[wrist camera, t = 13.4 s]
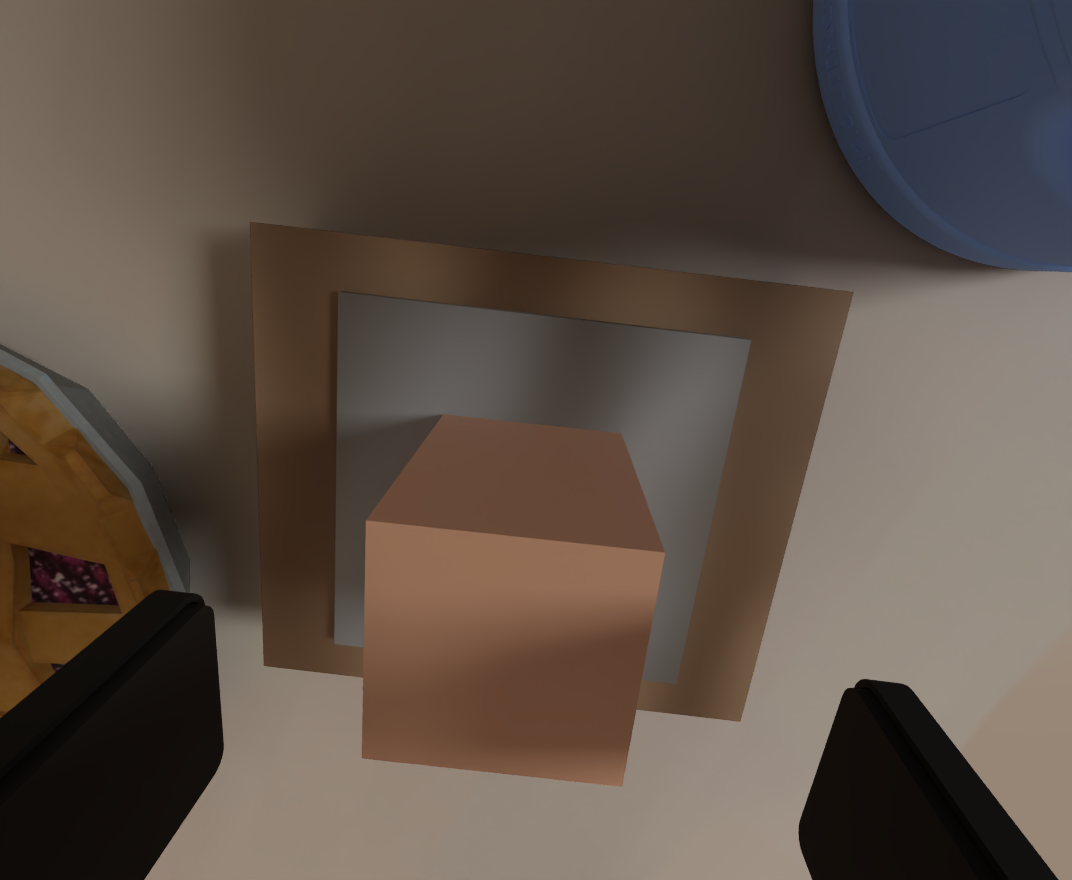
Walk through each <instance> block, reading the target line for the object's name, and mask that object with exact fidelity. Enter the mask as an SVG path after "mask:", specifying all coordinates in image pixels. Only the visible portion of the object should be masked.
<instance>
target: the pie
mask: <svg viewBox="0 0 1072 880" xmlns="http://www.w3.org/2000/svg"><path fill="white" fill-rule="evenodd" d="M161 589H162V590H170V591H177V592H185V593H190V559H189V556H188V554H187V551H186V549H185V546H184V544H183V541H182V539H181V536H180V534H179V531H178V529H177V527H176V524H175V522H174V519H173V517H172V514H171V512H170V509H169V507H168V504H167V502H166V499H165V497H164V494H163V492H162V490H161V487H160V485H159V482H158V480H157V477H156V475H155V472H154V470H153V467H152V466H151V464H150V463H149V462H148V461H147V460H146V459H145V457H144V456H143V455H142V454H141V453H140V451H139V450H138V449H137V448H136V446H135V445H134V444H133V443H132V442H131V440H130V439H129V438H128V437H127V435H126V434H125V433H124V432H123V431H122V429H121V428H120V427H119V426H118V425H117V423H116V422H115V421H114V420H113V418H112V417H111V416H110V415H109V414H108V412H107V411H106V410H105V409H104V408H103V406H102V405H101V404H100V403H99V401H98V400H97V399H96V398H95V397H94V395H93V394H92V393H91V392H90V390H89V389H87V388H85V387H83V386H81V385H79V384H77V383H75V382H73V381H71V380H69V379H67V378H65V377H63V376H62V375H60V374H58V373H56V372H54V371H52V370H50V369H48V368H46V367H44V366H42V365H40V364H38V363H36V362H34V361H32V360H30V359H28V358H26V357H24V356H22V355H20V354H18V353H16V352H14V351H12V350H10V349H8V348H6V347H4V346H2V345H1V344H0V718H1V717H2V716H3V715H5V714H6V713H7V712H8V711H9V710H11V709H12V708H13V707H14V706H15V705H17V704H18V703H19V702H20V701H21V700H23V699H24V698H25V697H26V696H27V695H29V694H30V693H31V692H32V691H33V690H35V689H36V688H37V687H38V686H39V685H41V684H42V683H43V682H44V681H46V680H47V679H48V678H49V677H50V676H52V675H53V674H54V673H55V672H56V671H58V670H59V669H60V668H61V667H62V666H64V665H65V664H66V663H67V662H68V661H70V660H71V659H72V658H73V657H74V656H76V655H77V654H78V653H79V652H80V651H82V650H83V649H84V648H85V647H86V646H88V645H89V644H90V643H91V642H93V641H94V640H95V639H96V638H97V637H99V636H100V635H101V634H102V633H103V632H105V631H106V630H107V629H108V628H109V627H111V626H112V625H113V624H114V623H115V622H117V621H118V620H119V619H120V618H121V617H123V616H124V615H125V614H126V613H127V612H129V611H130V610H131V609H132V608H133V607H135V606H136V605H137V604H138V603H140V602H141V601H142V600H143V599H144V598H146V597H147V596H148V595H149V594H151V593H152V592H154V591H156V590H161Z"/></svg>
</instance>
